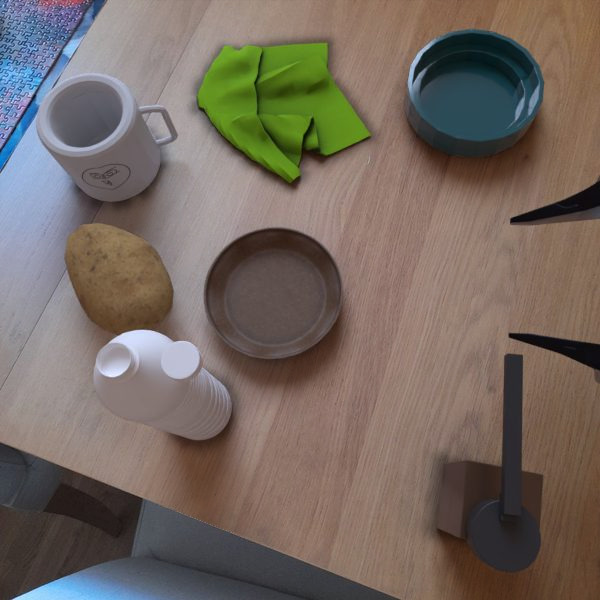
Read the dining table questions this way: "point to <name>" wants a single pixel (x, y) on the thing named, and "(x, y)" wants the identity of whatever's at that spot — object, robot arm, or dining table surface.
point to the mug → (101, 136)
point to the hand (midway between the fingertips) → (509, 278)
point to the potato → (118, 278)
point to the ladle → (507, 492)
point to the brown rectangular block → (479, 493)
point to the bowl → (473, 93)
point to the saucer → (273, 293)
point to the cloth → (279, 104)
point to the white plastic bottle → (161, 385)
